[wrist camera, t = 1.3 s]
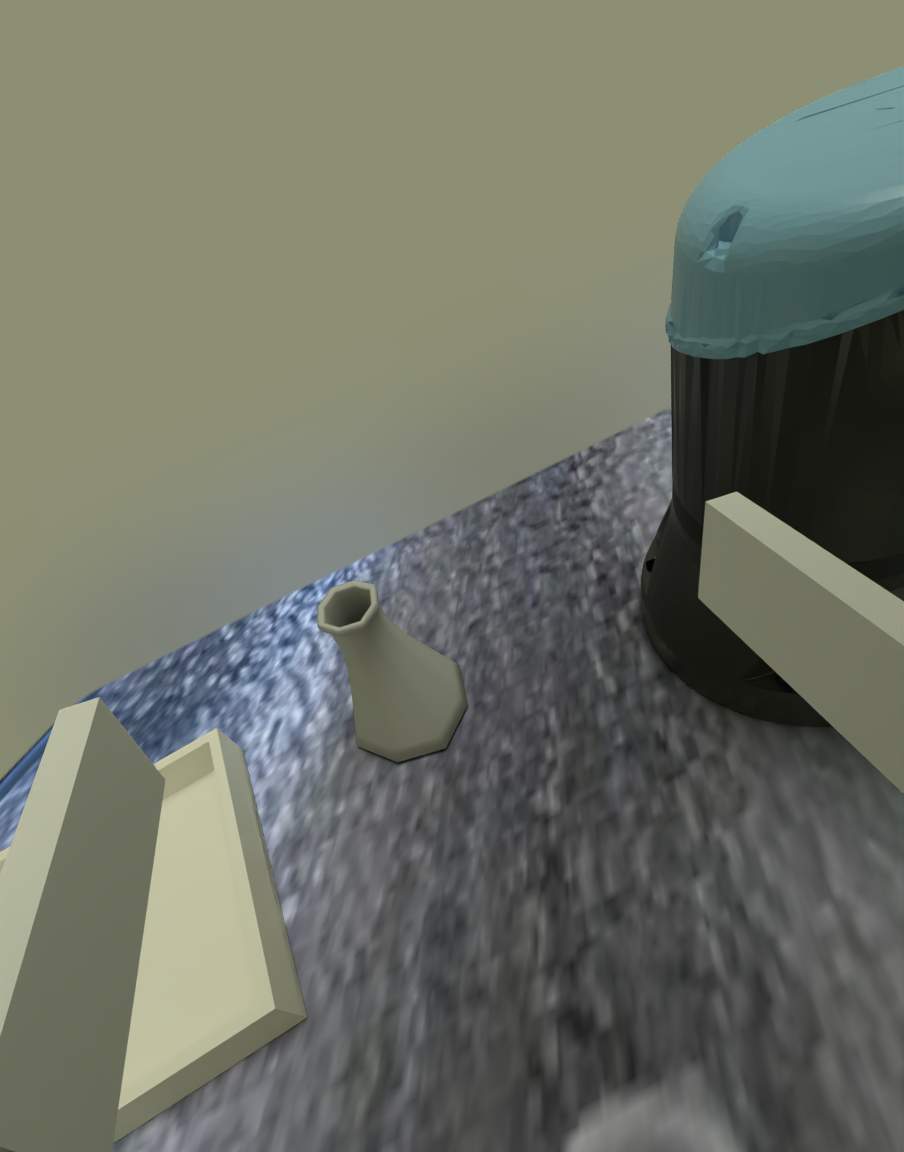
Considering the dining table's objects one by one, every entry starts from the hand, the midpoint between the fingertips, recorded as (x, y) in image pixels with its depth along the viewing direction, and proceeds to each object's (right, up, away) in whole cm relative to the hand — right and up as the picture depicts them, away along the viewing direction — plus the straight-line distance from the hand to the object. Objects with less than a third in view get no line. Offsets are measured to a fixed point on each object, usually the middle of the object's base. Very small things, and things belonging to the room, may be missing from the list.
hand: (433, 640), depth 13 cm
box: (-16, -18, +18) cm, 30 cm away
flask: (-2, -7, +23) cm, 24 cm away
